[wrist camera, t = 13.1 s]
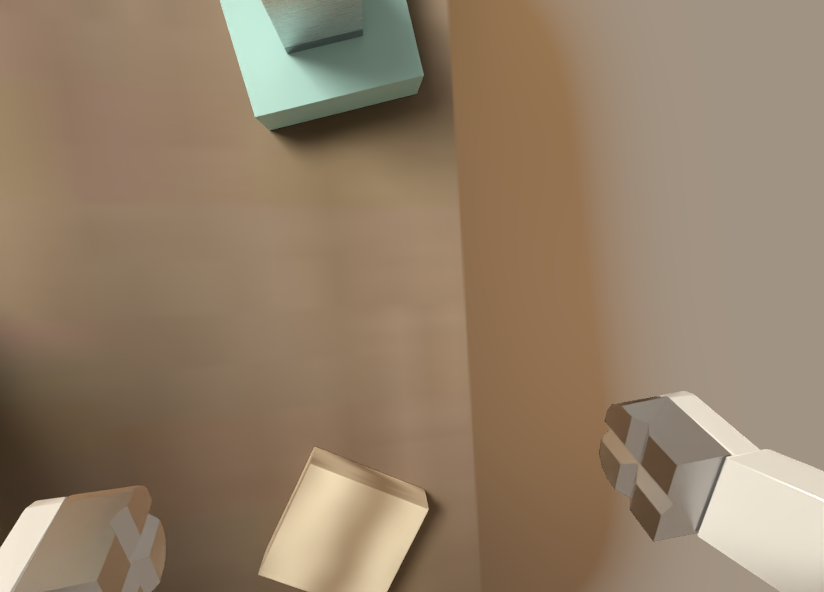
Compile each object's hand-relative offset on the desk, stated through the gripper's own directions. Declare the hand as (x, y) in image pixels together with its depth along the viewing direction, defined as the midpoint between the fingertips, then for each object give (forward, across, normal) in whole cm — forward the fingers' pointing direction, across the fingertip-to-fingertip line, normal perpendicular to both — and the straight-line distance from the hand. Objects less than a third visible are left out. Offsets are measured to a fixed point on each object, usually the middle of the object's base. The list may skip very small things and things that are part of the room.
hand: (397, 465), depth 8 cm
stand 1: (+29, -1, -8) cm, 30 cm away
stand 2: (+19, +2, +24) cm, 31 cm away
